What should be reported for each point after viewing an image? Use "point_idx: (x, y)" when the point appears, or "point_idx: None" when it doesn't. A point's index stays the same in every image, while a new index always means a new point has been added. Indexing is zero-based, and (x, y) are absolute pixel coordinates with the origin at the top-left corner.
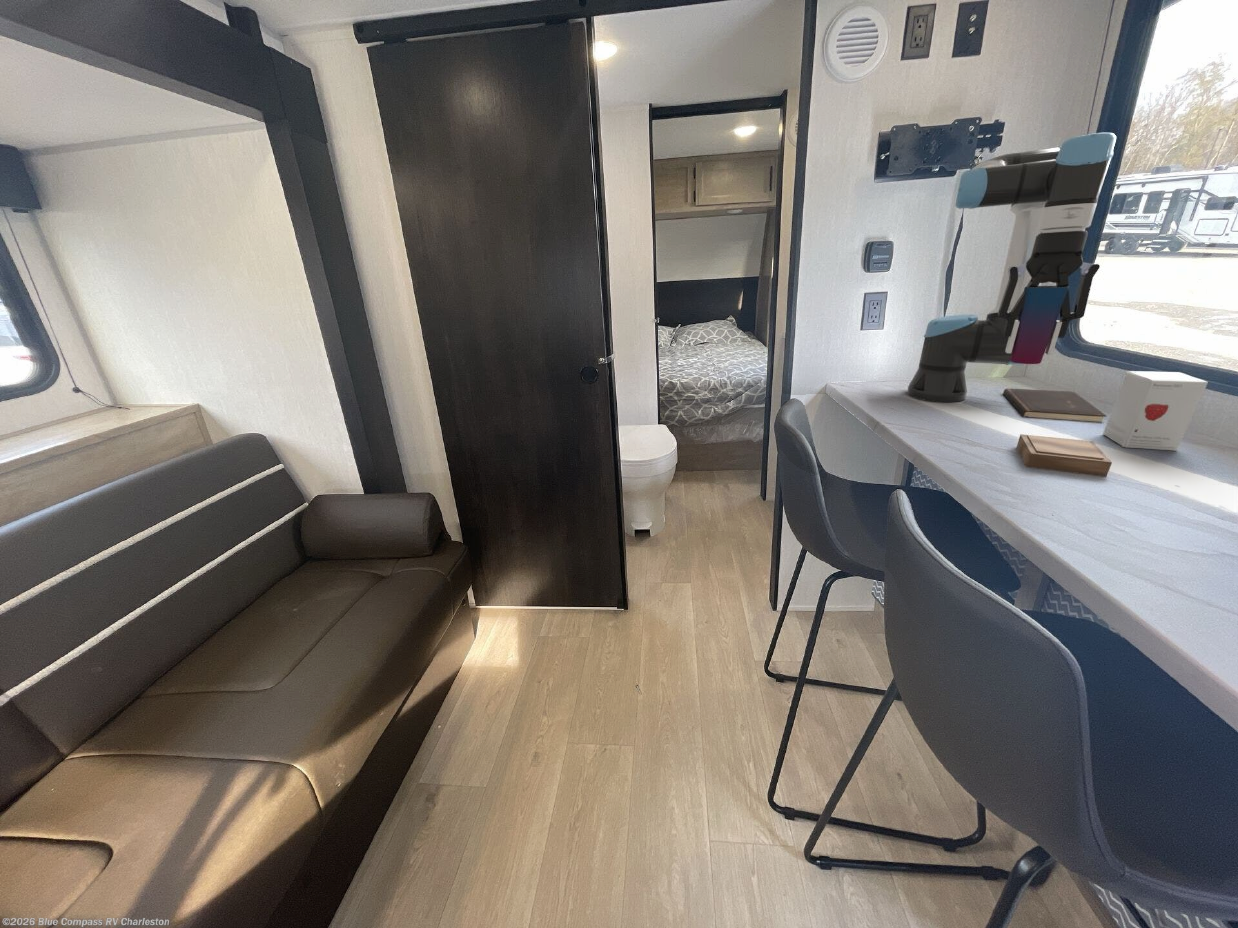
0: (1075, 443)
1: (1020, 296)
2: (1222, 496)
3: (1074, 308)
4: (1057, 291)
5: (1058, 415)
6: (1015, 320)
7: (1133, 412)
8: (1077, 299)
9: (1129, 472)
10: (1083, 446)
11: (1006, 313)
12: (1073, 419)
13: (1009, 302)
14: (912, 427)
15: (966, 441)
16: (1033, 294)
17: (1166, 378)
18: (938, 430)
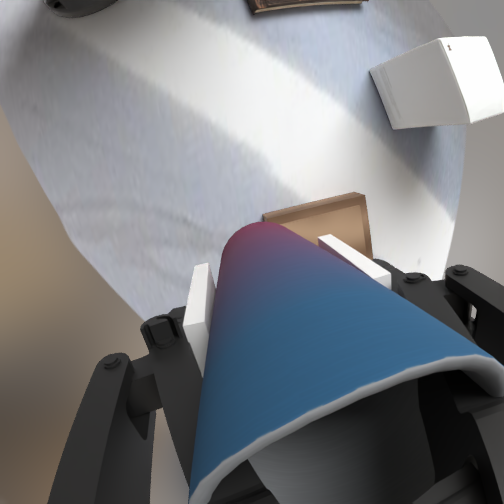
0: (343, 232)
1: (174, 441)
2: (442, 267)
3: (466, 292)
4: (397, 500)
5: (306, 3)
6: (197, 349)
7: (422, 115)
8: (494, 337)
9: (389, 243)
10: (352, 241)
11: (154, 417)
12: (326, 3)
13: (147, 466)
14: (91, 206)
15: (187, 232)
16: None
17: (483, 102)
18: (131, 195)
